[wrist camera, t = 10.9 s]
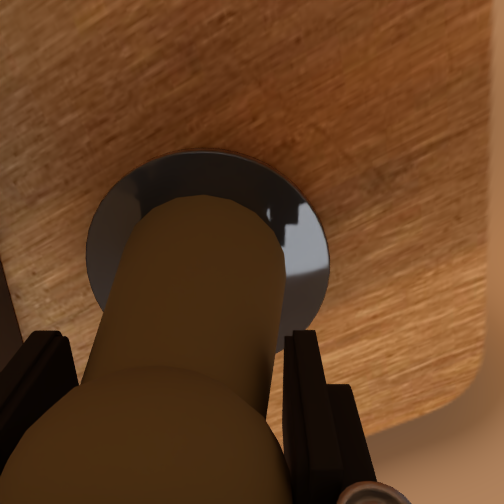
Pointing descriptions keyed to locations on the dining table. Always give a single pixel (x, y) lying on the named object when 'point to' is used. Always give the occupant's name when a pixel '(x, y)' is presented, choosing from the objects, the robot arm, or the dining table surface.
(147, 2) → the dining table surface
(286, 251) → the coaster
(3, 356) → the holder
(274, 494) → the cork
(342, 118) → the dining table surface
